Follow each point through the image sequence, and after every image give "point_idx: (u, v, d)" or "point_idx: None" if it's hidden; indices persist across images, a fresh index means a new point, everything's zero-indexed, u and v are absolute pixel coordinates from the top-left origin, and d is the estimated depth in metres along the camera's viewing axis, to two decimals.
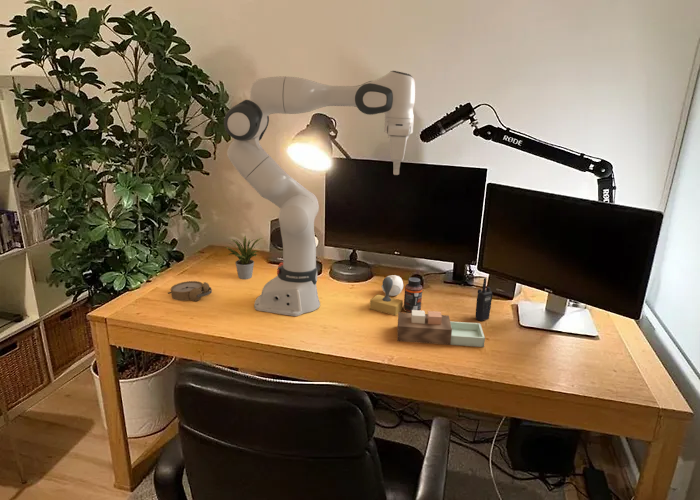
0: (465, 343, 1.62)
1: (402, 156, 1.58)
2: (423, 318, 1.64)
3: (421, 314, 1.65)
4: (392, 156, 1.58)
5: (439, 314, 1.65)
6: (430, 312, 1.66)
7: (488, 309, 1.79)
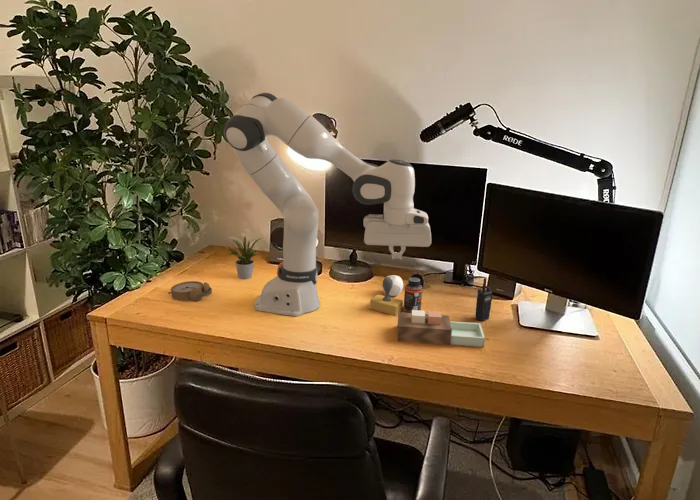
0: (465, 343, 1.62)
1: None
2: (423, 318, 1.64)
3: (421, 314, 1.65)
4: None
5: (439, 314, 1.65)
6: (430, 312, 1.66)
7: (488, 309, 1.79)
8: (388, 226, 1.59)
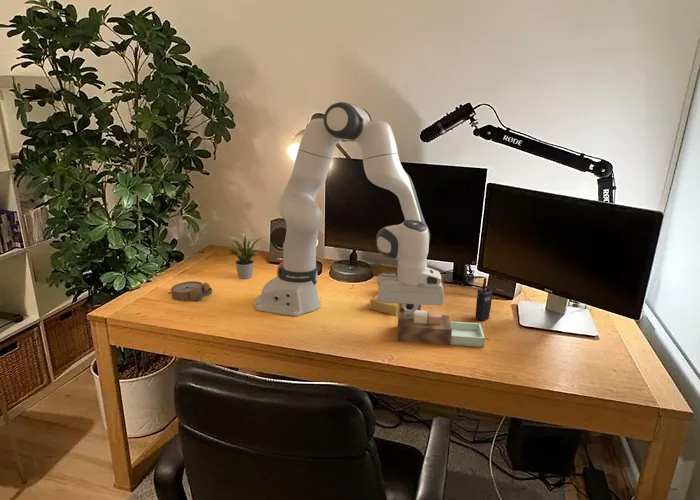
0: (465, 343, 1.62)
1: None
2: (426, 318, 1.64)
3: (424, 314, 1.65)
4: (443, 301, 1.63)
5: (439, 314, 1.65)
6: (430, 312, 1.66)
7: (488, 309, 1.79)
8: (401, 285, 1.62)
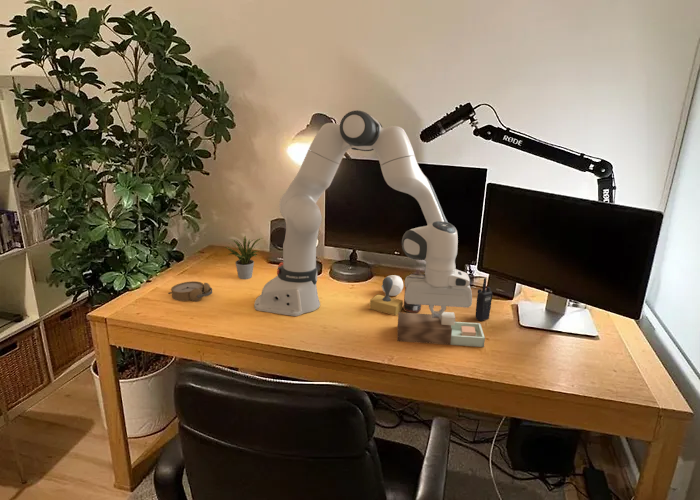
0: (465, 343, 1.62)
1: None
2: (453, 320, 1.64)
3: (451, 316, 1.64)
4: (471, 302, 1.62)
5: None
6: None
7: (488, 309, 1.79)
8: (429, 287, 1.61)
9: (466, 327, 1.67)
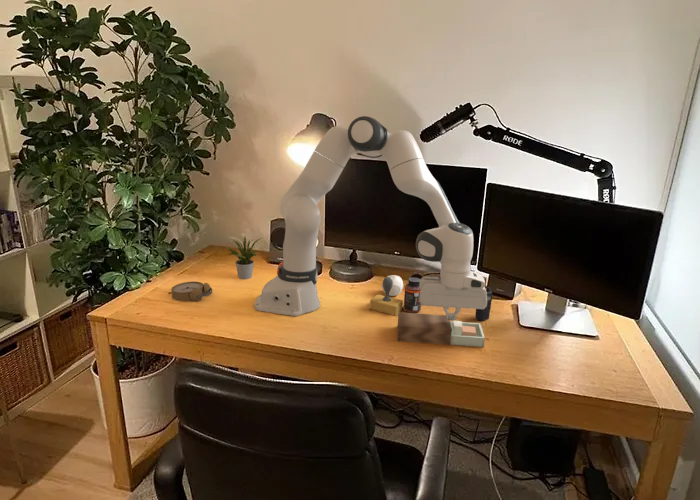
0: (465, 343, 1.62)
1: None
2: None
3: None
4: (486, 304, 1.62)
5: None
6: None
7: (488, 309, 1.79)
8: (445, 288, 1.61)
9: (466, 327, 1.67)
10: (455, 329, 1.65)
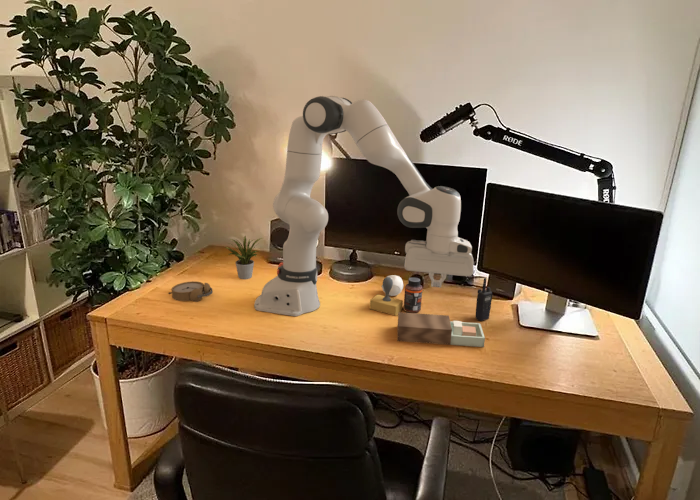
0: (465, 343, 1.62)
1: None
2: None
3: None
4: None
5: None
6: None
7: (488, 309, 1.79)
8: (430, 253, 1.57)
9: (466, 327, 1.67)
10: (455, 329, 1.65)
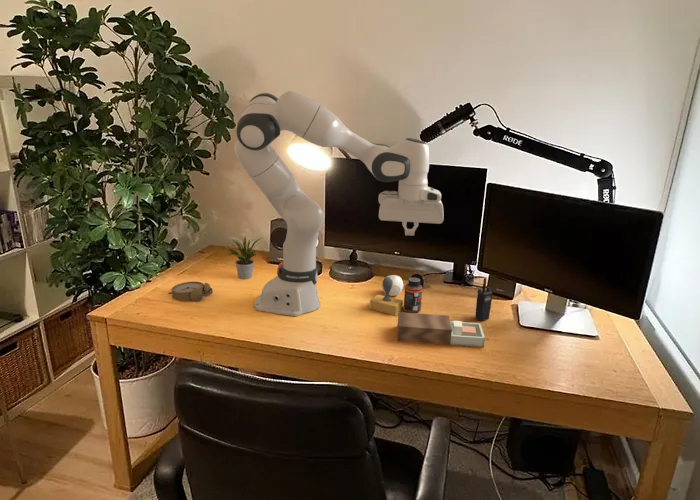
0: (465, 343, 1.62)
1: None
2: None
3: None
4: (443, 218, 1.66)
5: None
6: None
7: (488, 309, 1.79)
8: (402, 202, 1.65)
9: (466, 327, 1.67)
10: (455, 329, 1.65)
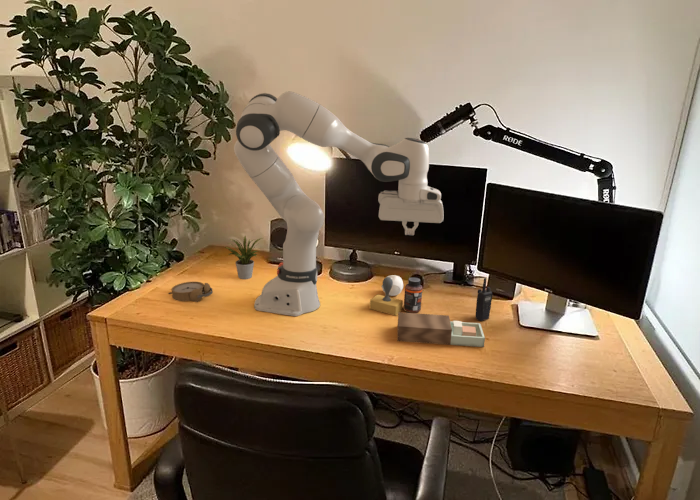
0: (465, 343, 1.62)
1: None
2: None
3: None
4: None
5: None
6: None
7: (488, 309, 1.79)
8: (402, 202, 1.65)
9: (466, 327, 1.67)
10: (455, 329, 1.65)
